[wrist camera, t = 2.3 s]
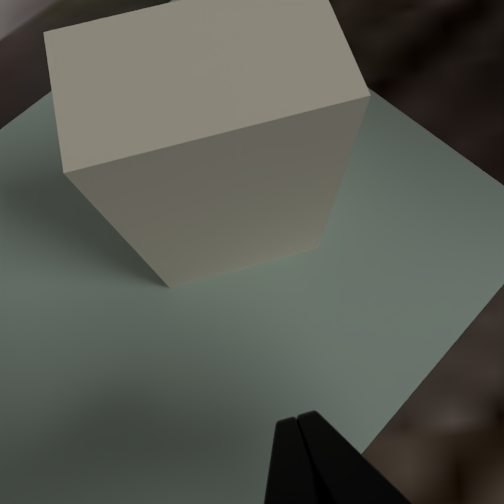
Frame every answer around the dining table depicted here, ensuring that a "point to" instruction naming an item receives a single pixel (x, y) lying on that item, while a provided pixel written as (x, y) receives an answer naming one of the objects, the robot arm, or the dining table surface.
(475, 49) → the dining table surface
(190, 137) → the card box
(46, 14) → the dining table surface
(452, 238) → the rubber mat
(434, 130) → the dining table surface
